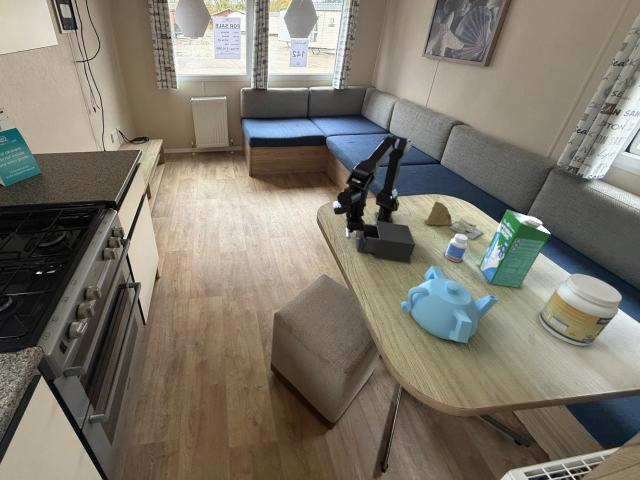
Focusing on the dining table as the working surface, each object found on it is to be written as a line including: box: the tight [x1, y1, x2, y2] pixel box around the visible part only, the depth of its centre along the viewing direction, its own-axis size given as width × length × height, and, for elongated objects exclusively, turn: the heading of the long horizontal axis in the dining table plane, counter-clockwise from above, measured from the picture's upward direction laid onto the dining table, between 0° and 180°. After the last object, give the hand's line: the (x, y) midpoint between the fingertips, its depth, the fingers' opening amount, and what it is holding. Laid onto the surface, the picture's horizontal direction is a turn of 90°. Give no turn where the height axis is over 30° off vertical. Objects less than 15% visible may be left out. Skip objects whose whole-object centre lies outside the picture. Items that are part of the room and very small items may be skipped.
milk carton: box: [479, 209, 551, 288], centre depth 104 cm, size 9×9×25 cm
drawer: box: [345, 223, 379, 254], centre depth 121 cm, size 16×11×7 cm
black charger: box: [374, 220, 416, 264], centre depth 119 cm, size 12×13×9 cm
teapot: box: [400, 265, 499, 344], centre depth 90 cm, size 19×19×14 cm
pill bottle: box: [445, 233, 469, 263], centre depth 116 cm, size 6×5×10 cm
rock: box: [425, 201, 453, 226], centre depth 137 cm, size 11×9×10 cm
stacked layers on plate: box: [448, 214, 483, 240], centre depth 134 cm, size 10×9×6 cm
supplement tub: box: [538, 273, 623, 347], centre depth 87 cm, size 12×12×17 cm
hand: (350, 232), depth 122 cm, fingers closed, pressing on drawer
